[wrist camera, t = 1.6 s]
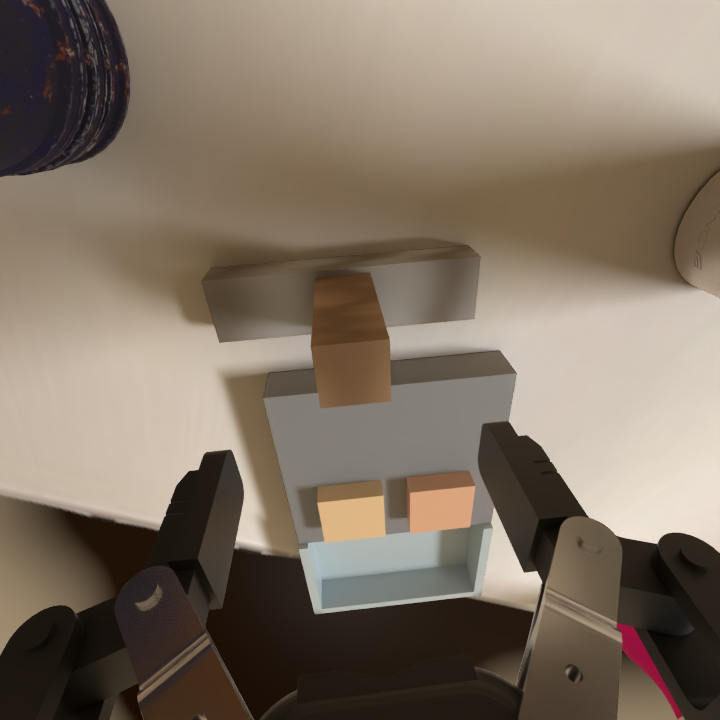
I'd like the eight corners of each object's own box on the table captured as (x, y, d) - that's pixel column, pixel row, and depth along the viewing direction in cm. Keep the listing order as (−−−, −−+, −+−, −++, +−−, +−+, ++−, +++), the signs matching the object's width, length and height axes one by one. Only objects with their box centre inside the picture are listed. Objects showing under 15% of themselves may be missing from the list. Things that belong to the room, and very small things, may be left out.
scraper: (467, 244, 25) (546, 315, 16) (462, 303, 27) (530, 394, 18) (212, 266, 24) (147, 353, 16) (227, 324, 27) (178, 429, 18)
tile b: (381, 480, 31) (383, 495, 30) (383, 520, 34) (385, 536, 32) (317, 486, 31) (317, 502, 30) (324, 526, 33) (324, 542, 32)
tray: (479, 495, 37) (492, 527, 34) (470, 562, 43) (480, 595, 40) (300, 514, 37) (298, 549, 34) (315, 579, 43) (314, 614, 40)
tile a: (469, 470, 31) (475, 485, 30) (464, 511, 34) (470, 527, 32) (406, 477, 31) (410, 492, 30) (406, 517, 34) (409, 533, 32)
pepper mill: (599, 611, 52) (734, 854, 35) (586, 588, 48) (729, 844, 31) (655, 592, 50) (825, 836, 33) (646, 566, 47) (831, 824, 30)
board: (500, 350, 29) (516, 373, 26) (479, 495, 37) (490, 523, 35) (268, 373, 29) (262, 398, 26) (300, 514, 37) (298, 544, 34)
